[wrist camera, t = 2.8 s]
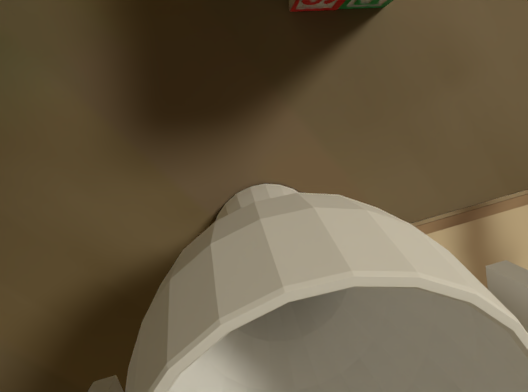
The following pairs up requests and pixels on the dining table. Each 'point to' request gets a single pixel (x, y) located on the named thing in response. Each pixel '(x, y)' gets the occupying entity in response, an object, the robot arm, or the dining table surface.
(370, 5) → the stack of blocks
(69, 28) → the dining table surface
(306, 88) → the dining table surface
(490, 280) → the robot arm
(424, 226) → the picture frame
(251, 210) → the cup
